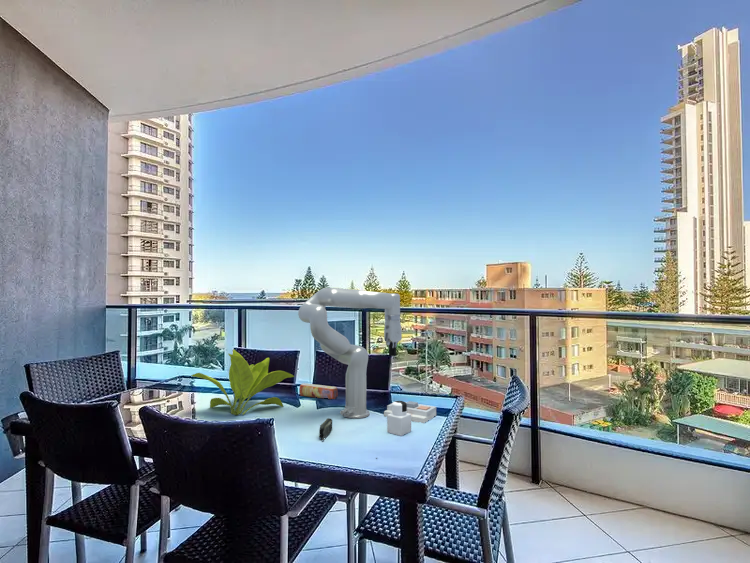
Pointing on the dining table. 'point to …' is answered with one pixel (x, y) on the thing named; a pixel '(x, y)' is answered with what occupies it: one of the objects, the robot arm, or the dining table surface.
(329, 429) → the mobile phone
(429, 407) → the terracotta key
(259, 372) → the artificial plant
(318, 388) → the snack package
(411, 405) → the slate key
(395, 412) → the medicine bottle
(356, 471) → the dining table surface
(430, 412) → the white shallow tray
